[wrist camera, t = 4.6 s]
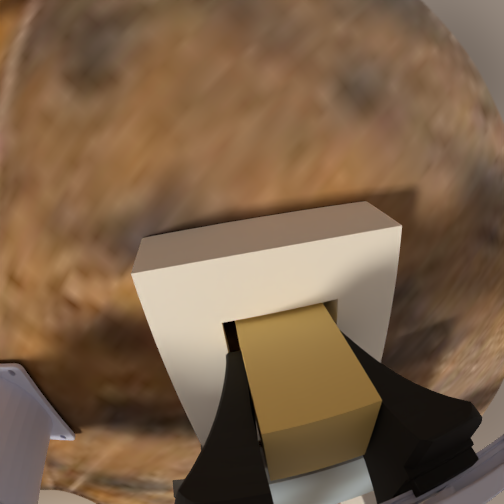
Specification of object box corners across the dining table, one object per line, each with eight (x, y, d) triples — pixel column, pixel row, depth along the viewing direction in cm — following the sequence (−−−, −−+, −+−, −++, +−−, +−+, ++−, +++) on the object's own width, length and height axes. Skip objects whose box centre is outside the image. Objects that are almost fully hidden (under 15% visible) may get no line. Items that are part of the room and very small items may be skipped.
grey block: (202, 460, 22) (211, 531, 16) (170, 400, 18) (174, 496, 12) (357, 425, 23) (386, 487, 17) (373, 355, 19) (421, 433, 13)
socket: (200, 410, 19) (203, 449, 16) (142, 238, 13) (131, 273, 10) (350, 377, 20) (368, 410, 17) (366, 201, 14) (402, 225, 11)
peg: (240, 354, 15) (270, 481, 9) (230, 296, 14) (261, 434, 8) (309, 339, 16) (364, 454, 9) (308, 281, 14) (382, 400, 8)
